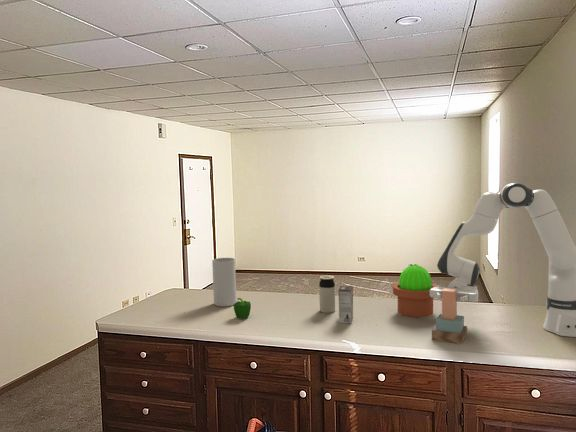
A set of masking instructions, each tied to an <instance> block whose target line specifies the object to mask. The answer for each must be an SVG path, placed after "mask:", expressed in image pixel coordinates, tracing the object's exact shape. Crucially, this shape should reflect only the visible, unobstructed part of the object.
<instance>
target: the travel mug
mask: <svg viewBox="0 0 576 432" xmlns="http://www.w3.org/2000/svg"><path fill="white" fill-rule="evenodd" d="M334 278H335V276H333V275H321V276H319V279H320V280H319V283H318V285H319V287H318V288H319V289H318V291H319V293H318V294H319V311H320V312H321V313H325V314H331V313H334V312H336V283H335V281H334V280H335V279H334Z"/></svg>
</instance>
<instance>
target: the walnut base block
mask: <svg viewBox="0 0 576 432" xmlns="http://www.w3.org/2000/svg"><path fill="white" fill-rule="evenodd" d="M467 334H468V325H464V327H463V329H462V332H461V333H453V332H446V331H438V330H436V325H435V326H434V327H433V328H432V330H431V341H439V342H445V343H451V344H457V345H462V344H463V343H464V341H465V339H466V337H467V336H468V335H467Z"/></svg>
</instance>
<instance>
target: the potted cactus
mask: <svg viewBox="0 0 576 432" xmlns="http://www.w3.org/2000/svg"><path fill="white" fill-rule="evenodd" d="M404 268H405V267H404ZM433 287H439V286H438V285H437V284H435V283H432V277H431V274H430V273H429V271H428V270H427V269H426V267H424V266H421V265H419V264H412V263H410V264H409V265H408V266H407V267H406V268H405V269H402V271H401V273H400V275H399V279H398V282H395V283H394V284H393V285H392V293H393V295H394V296H396V297H397V312H398V314H399V315H402V316H405V317H410V318H427V317H430V316H432V315H433V314H434V298H433V297H430V289H431V288H433Z"/></svg>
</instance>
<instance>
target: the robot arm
mask: <svg viewBox="0 0 576 432" xmlns="http://www.w3.org/2000/svg"><path fill="white" fill-rule="evenodd" d="M521 207H523V208H525V210H526V211H527V212H528V214H529V216H530V219H531V221H532V223H533V225H534V227H535V229H536V231H537V233H538V236H539V238H540V241H541V243H542V245H543V247H544V250H545V252H546V255H547V258H548V281H547V282H548V283H547V284H548V287H547V288H548V289H547V297H546V315H545V320H544V323H543V326H542V328H543V329H544V330H546V331H548V332H551V333H554V334H556V335H558V336H562V337H573V338H574V337H575V338H576V245H575V243H574V241H573V239H572V236H571V235H570V232H569V229H568V228H567V226H566V224H565V221H564V219H563V217H562V215H561V213H560V211H559V209H558V207H557V205H556V203H555V201H554V200H553V198H552V197H551V195H550V194H549V193H548V191H547V190H546V189H539V188H538V189H533V190H532V189H530V188H529V187H527V185H525V184H523V183H520V182H511V183H507V184H505V185H504V186H503V187H502V188H501V189H500V190H499V191H497V192H496V193H495V192H484V193H482V194H481V195H480V198H479V199H478V200H477V202H476V205H475V206H474V208H473V211H472V215H471V216H470V218H469V219H468V220H466V221H462V222H461V223H460V225H459V226H458V227H457V229H455V230H456V231H455V232H454V234H453V235H452V237H451V239H450V241H449V242H448V244H447V246H446V248H445V250H444V251H443V252H442V254H441V255H440V257H439V258H438V260H437V264H436V265H437V266H436V267H437V269H438V270H439V272H440V273H441V274H444V275H447V276H452V277H455V278H454V279H453V280H452V281H451V282H450V283H449V284H447V286H446V287H445V286H438V287H433V288H431V289H430V297H433V299H437V300H442V290H443V289H444V288H448V289H457V302H462V303H463V302H470V303H478V302H479V290H478V286H477V285H475V284H476V283H477V281H478V279H479V277H480V272H481V269H480V266H479V264H478V262H476V261H473V260H471V259H467V258H464V257H462V256H459V255H456V254H455V252H456V251H457V249H458V247H459V245H460V244H461V241H462V240H463V239H464V238H466V237H469V236H470V237H471V236H486V235H488V234H490V233H491V232H493V231H494V230H495V228H496V226H497V224H498V221H499V218H500V215H501V212H502V211H503V210H504V209H505V208H507V209H517V208H521Z"/></svg>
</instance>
